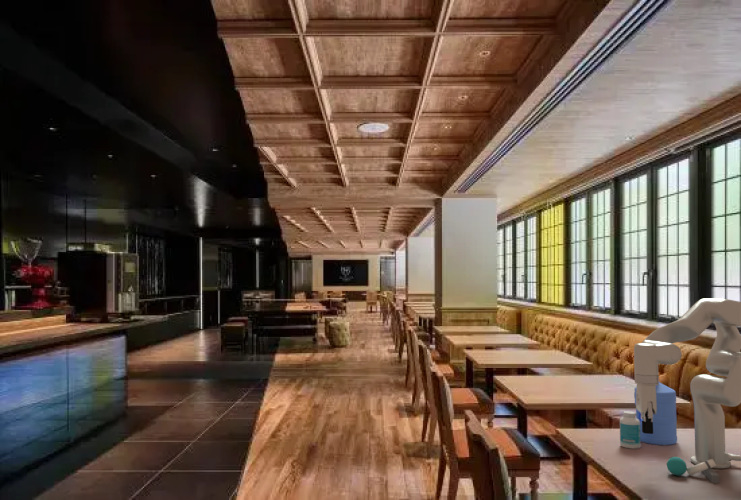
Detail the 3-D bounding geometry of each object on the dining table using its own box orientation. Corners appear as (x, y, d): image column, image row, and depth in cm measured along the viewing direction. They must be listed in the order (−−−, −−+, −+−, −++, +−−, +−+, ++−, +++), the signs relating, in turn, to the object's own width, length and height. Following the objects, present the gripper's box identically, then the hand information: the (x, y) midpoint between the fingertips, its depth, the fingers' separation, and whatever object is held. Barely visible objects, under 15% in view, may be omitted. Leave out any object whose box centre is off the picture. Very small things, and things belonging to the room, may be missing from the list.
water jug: (678, 438, 245) (676, 371, 246) (676, 448, 231) (674, 376, 232) (637, 433, 253) (636, 368, 254) (632, 442, 239) (631, 373, 240)
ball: (671, 451, 203) (661, 465, 203) (675, 455, 197) (665, 469, 198) (687, 462, 202) (677, 476, 202) (692, 466, 196) (682, 481, 196)
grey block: (707, 471, 203) (706, 464, 203) (719, 483, 191) (718, 475, 192) (700, 471, 204) (700, 463, 204) (712, 482, 192) (712, 475, 192)
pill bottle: (643, 449, 229) (643, 414, 230) (624, 449, 229) (624, 414, 230) (635, 444, 237) (634, 410, 237) (617, 444, 237) (616, 410, 237)
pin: (688, 474, 200) (714, 464, 198) (690, 477, 198) (717, 467, 196) (684, 467, 200) (710, 457, 199) (687, 470, 198) (713, 460, 196)
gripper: (630, 375, 212) (631, 427, 211) (639, 382, 197) (640, 438, 196) (653, 376, 210) (654, 428, 209) (663, 383, 195) (664, 439, 194)
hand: (647, 432), depth 203 cm, fingers closed
